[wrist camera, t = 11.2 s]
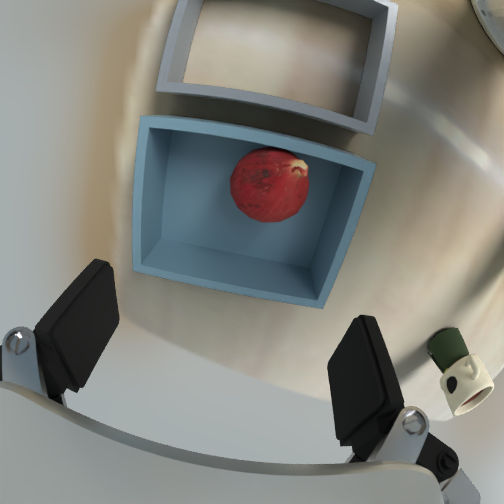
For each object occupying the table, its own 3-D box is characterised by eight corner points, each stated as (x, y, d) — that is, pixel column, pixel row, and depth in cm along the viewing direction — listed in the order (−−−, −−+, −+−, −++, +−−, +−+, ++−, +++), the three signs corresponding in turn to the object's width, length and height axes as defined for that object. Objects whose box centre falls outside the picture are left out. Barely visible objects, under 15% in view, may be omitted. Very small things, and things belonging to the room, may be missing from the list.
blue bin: (168, 115, 22) (140, 115, 16) (351, 152, 22) (376, 164, 17) (155, 241, 28) (132, 270, 22) (313, 272, 28) (322, 308, 23)
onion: (219, 230, 22) (263, 206, 15) (216, 165, 23) (254, 117, 15) (281, 229, 25) (341, 210, 17) (275, 170, 25) (328, 133, 18)
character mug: (425, 324, 32) (462, 394, 20) (463, 306, 30) (505, 368, 19) (421, 366, 36) (445, 427, 25) (454, 350, 35) (483, 406, 23)
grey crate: (202, -21, 15) (192, -39, 11) (381, 17, 15) (398, 4, 12) (171, 94, 21) (155, 91, 17) (357, 132, 22) (373, 135, 18)
